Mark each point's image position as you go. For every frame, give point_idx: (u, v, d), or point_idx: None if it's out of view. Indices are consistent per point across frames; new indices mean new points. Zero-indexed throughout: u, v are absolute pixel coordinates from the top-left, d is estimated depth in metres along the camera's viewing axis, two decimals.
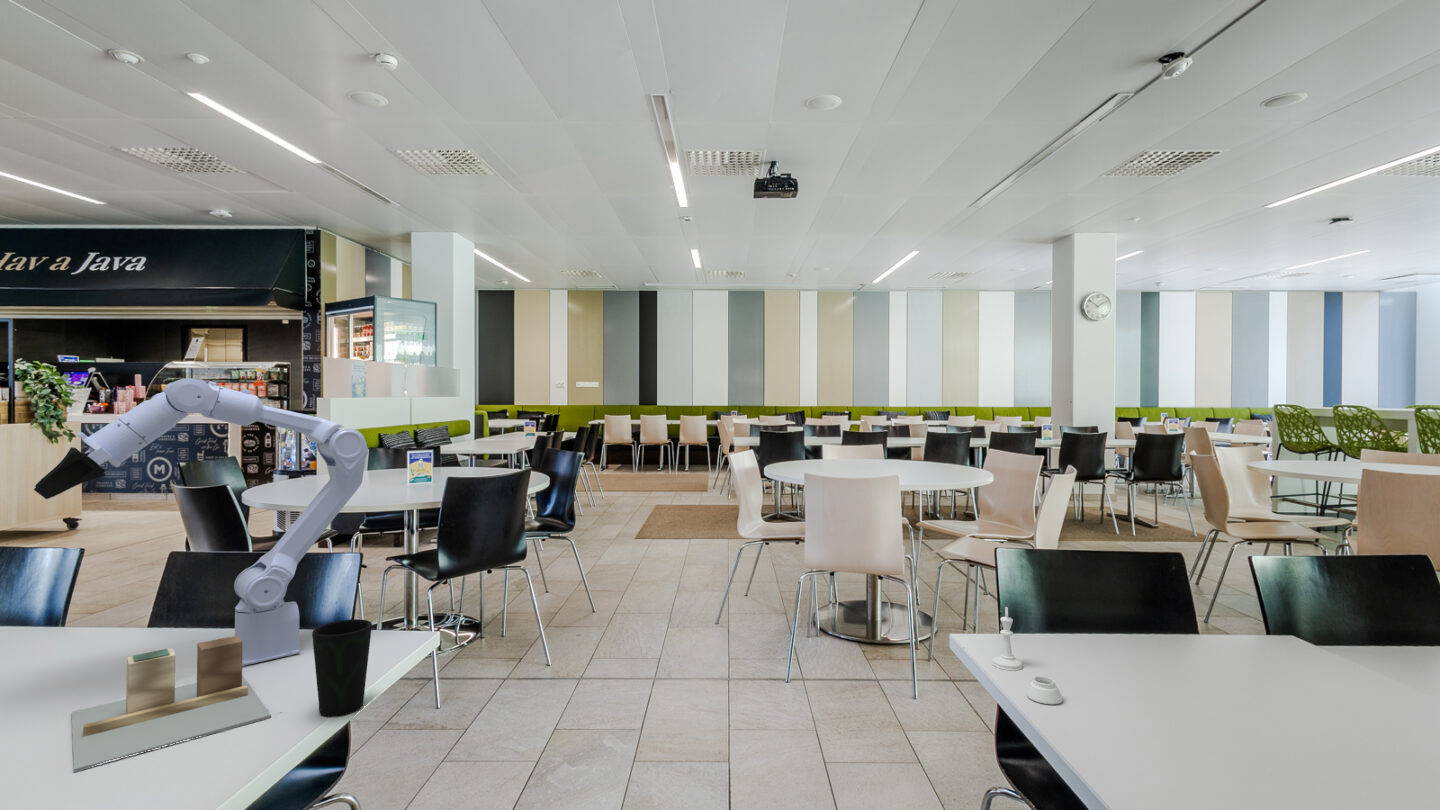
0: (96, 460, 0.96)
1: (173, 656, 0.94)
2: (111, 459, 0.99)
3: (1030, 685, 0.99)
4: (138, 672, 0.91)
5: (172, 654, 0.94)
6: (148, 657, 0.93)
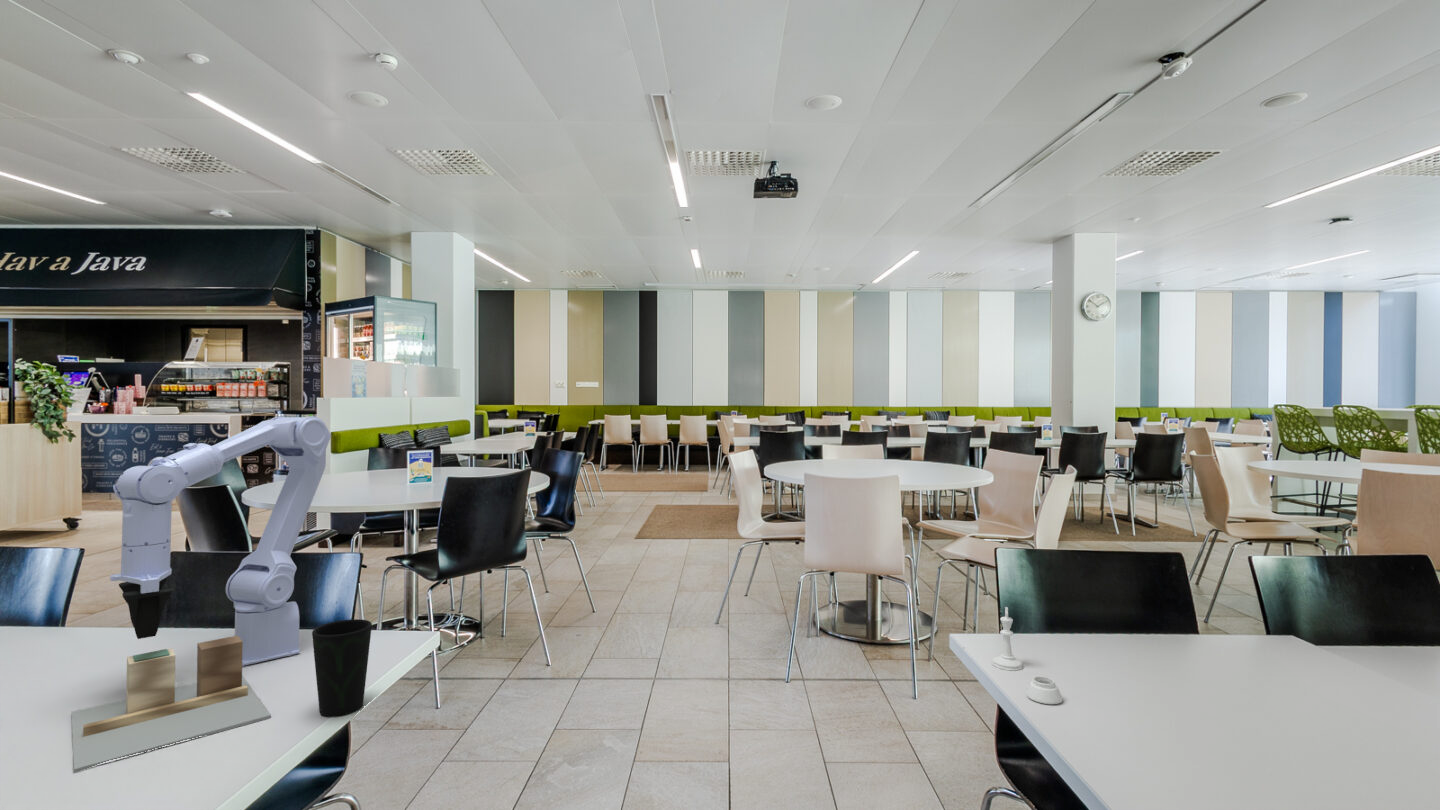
0: (151, 590, 0.95)
1: (173, 656, 0.94)
2: (160, 578, 0.97)
3: (1030, 685, 0.99)
4: (138, 672, 0.91)
5: (172, 654, 0.94)
6: (148, 657, 0.93)
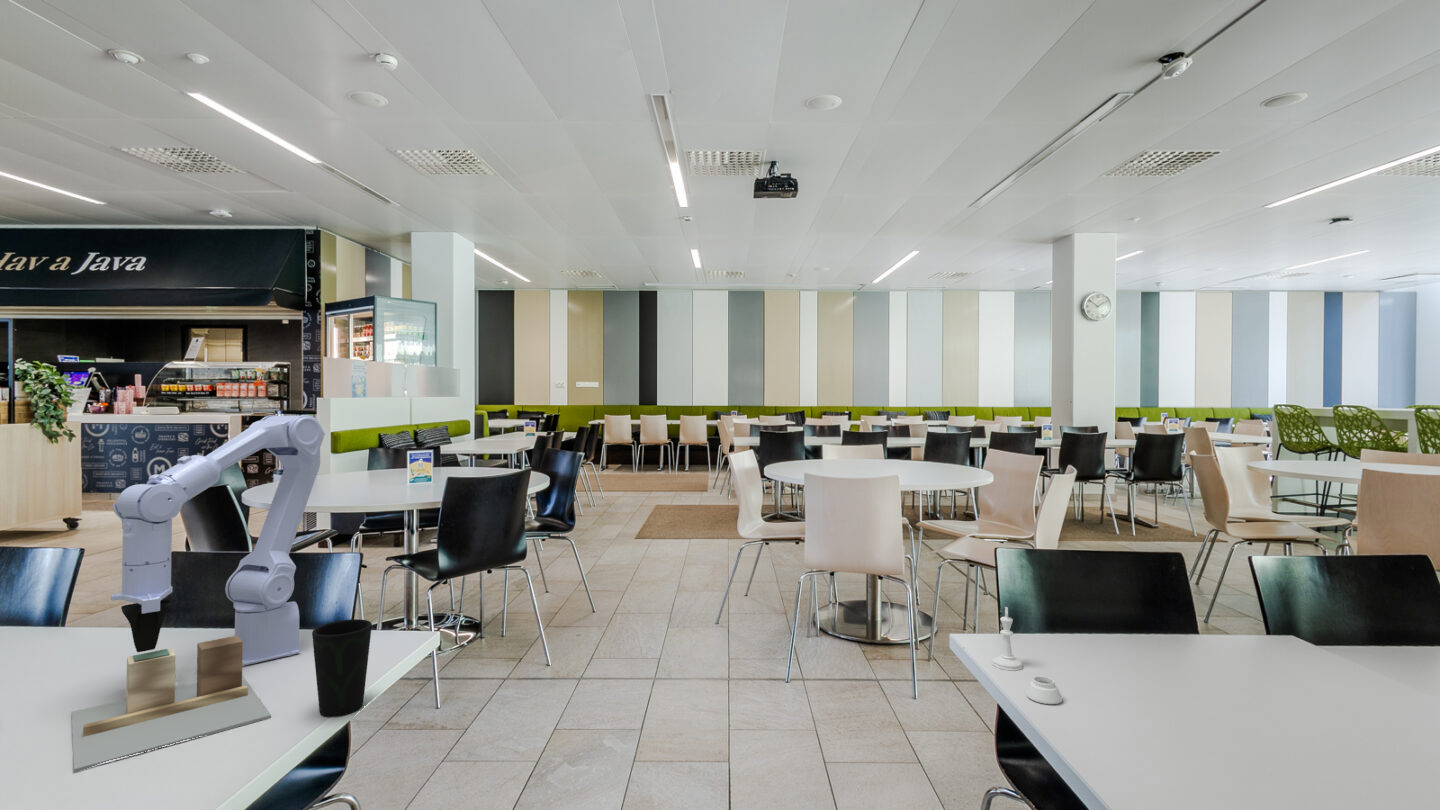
0: (152, 610, 0.95)
1: (173, 656, 0.94)
2: (161, 597, 0.97)
3: (1030, 685, 0.99)
4: (138, 672, 0.91)
5: (172, 654, 0.94)
6: (148, 657, 0.93)
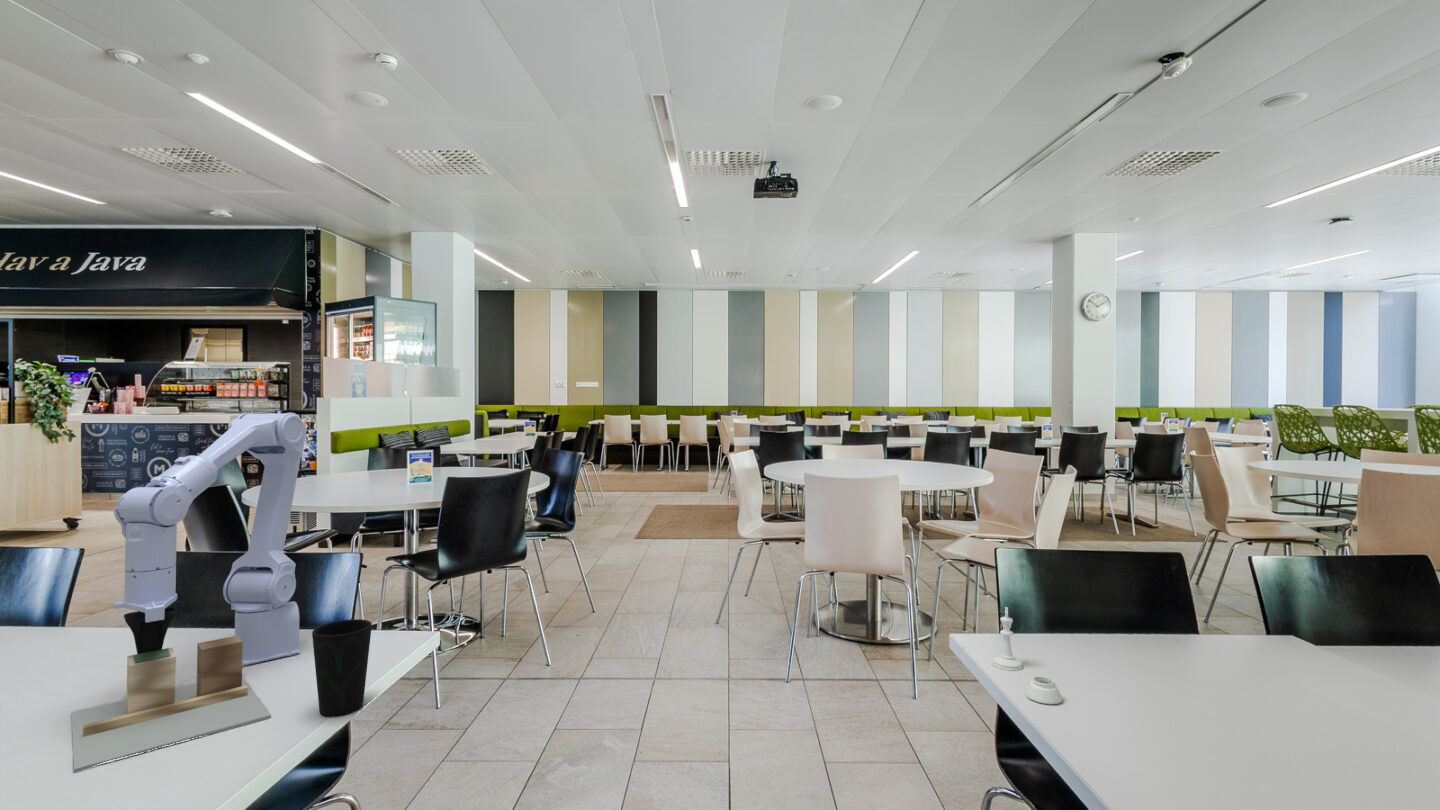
0: (157, 619, 0.91)
1: (174, 657, 0.94)
2: (166, 605, 0.93)
3: (1030, 685, 0.99)
4: (138, 673, 0.91)
5: (173, 655, 0.94)
6: (149, 658, 0.92)
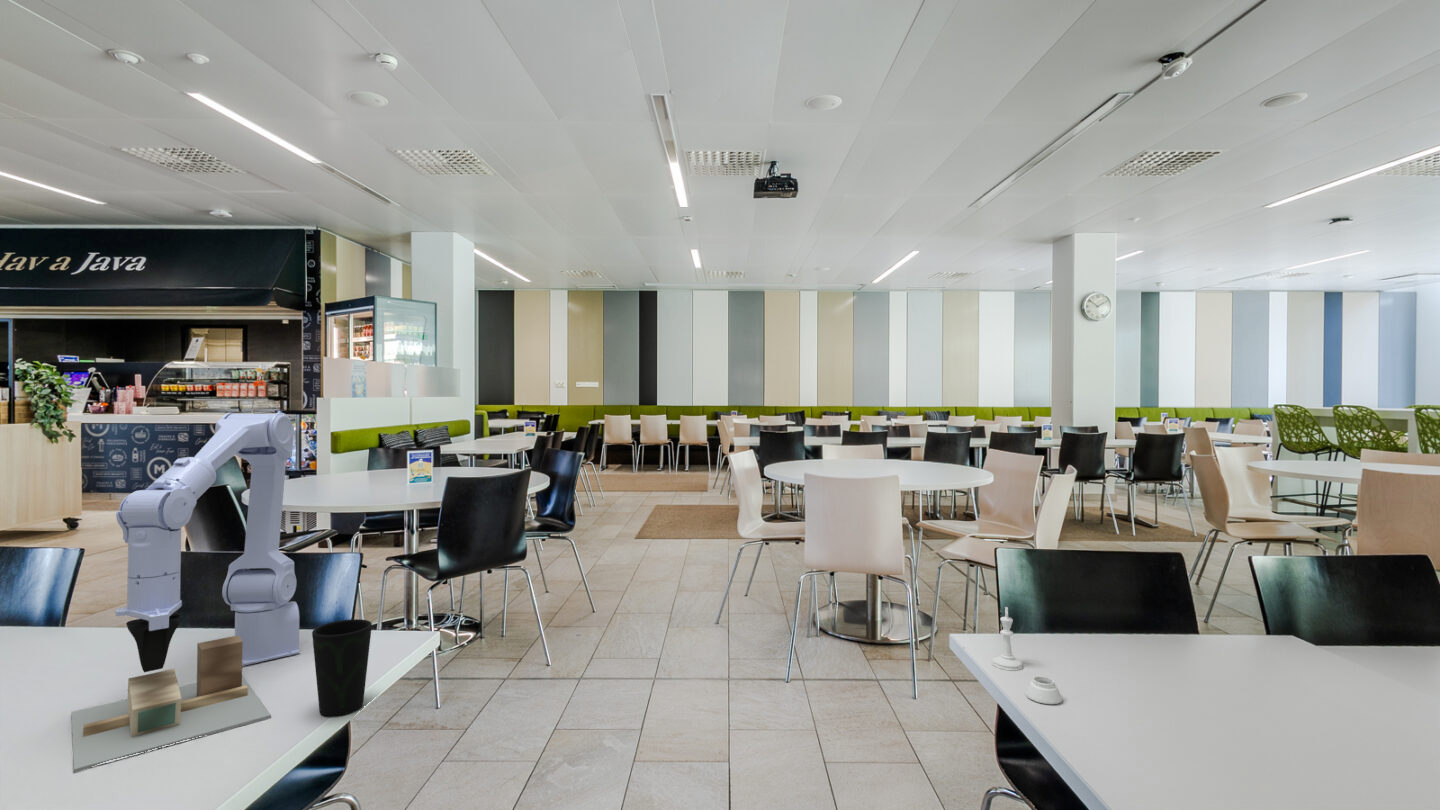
0: (161, 627, 0.87)
1: (177, 723, 0.90)
2: (170, 612, 0.89)
3: (1030, 685, 0.99)
4: None
5: (177, 720, 0.89)
6: (152, 726, 0.87)
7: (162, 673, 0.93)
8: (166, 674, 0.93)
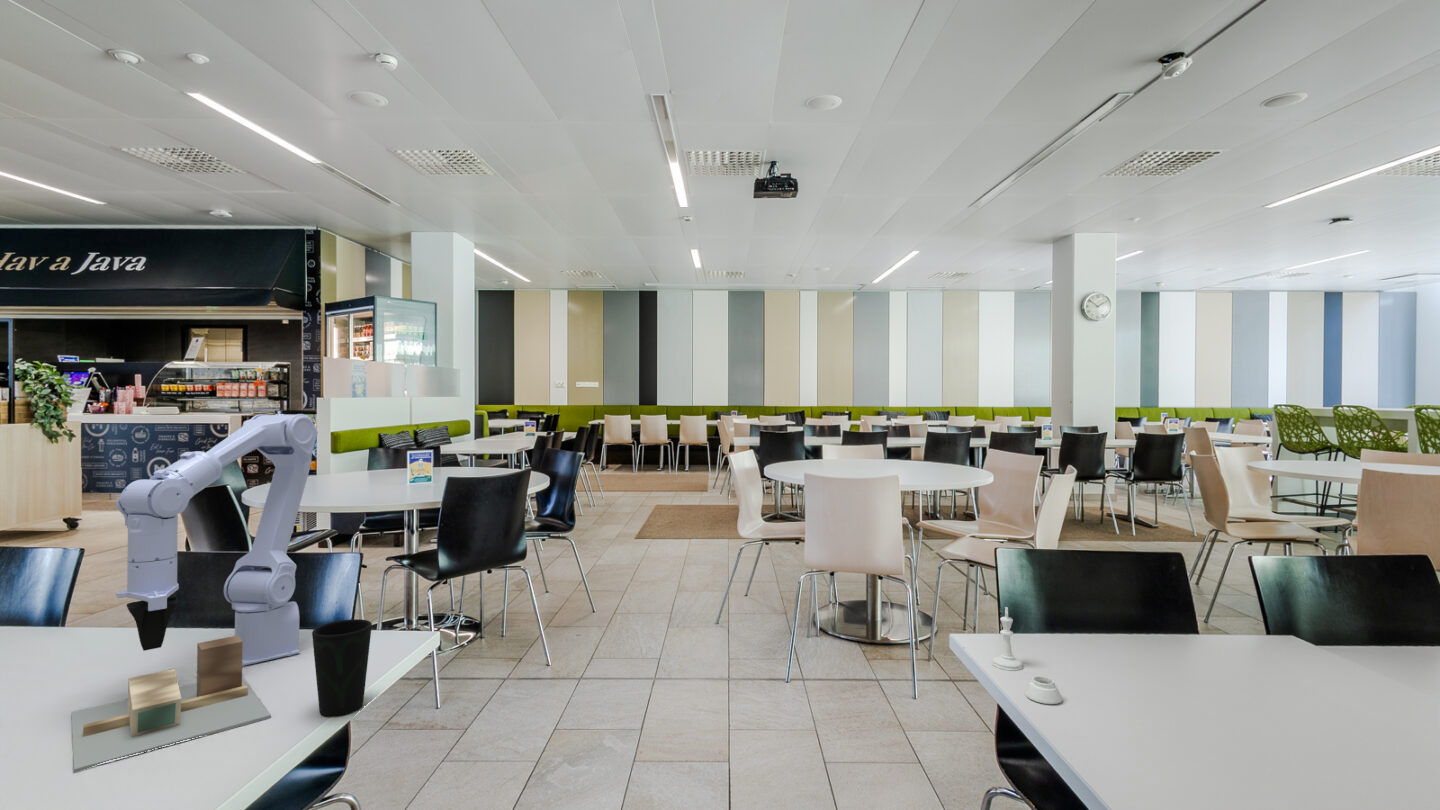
0: (159, 607, 0.93)
1: (177, 723, 0.90)
2: (168, 594, 0.95)
3: (1030, 685, 0.99)
4: None
5: (177, 720, 0.89)
6: (152, 726, 0.87)
7: (162, 673, 0.93)
8: (166, 674, 0.93)
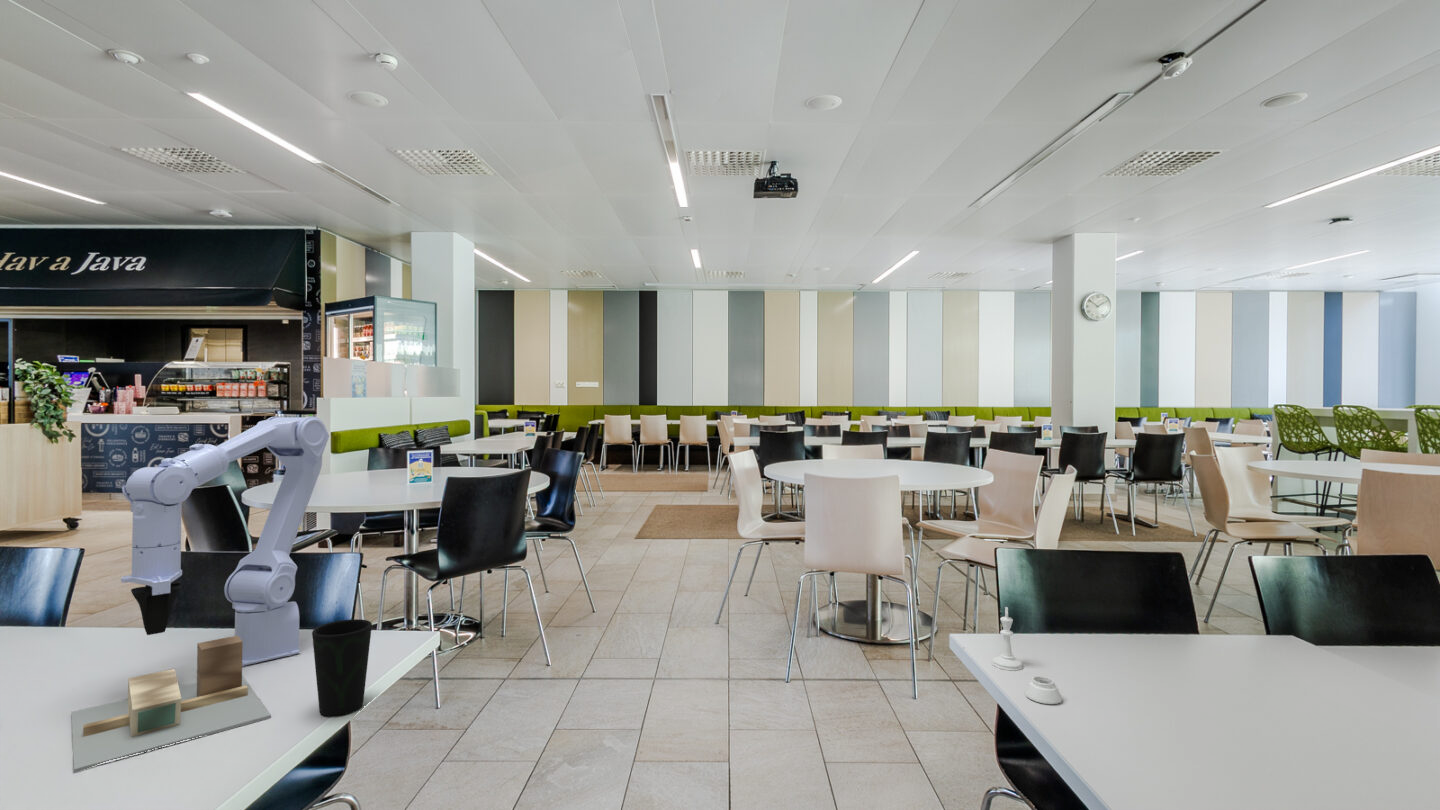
0: (163, 592, 0.95)
1: (177, 723, 0.90)
2: (171, 579, 0.97)
3: (1029, 685, 0.99)
4: None
5: (177, 720, 0.89)
6: (152, 726, 0.87)
7: (162, 673, 0.93)
8: (166, 674, 0.93)
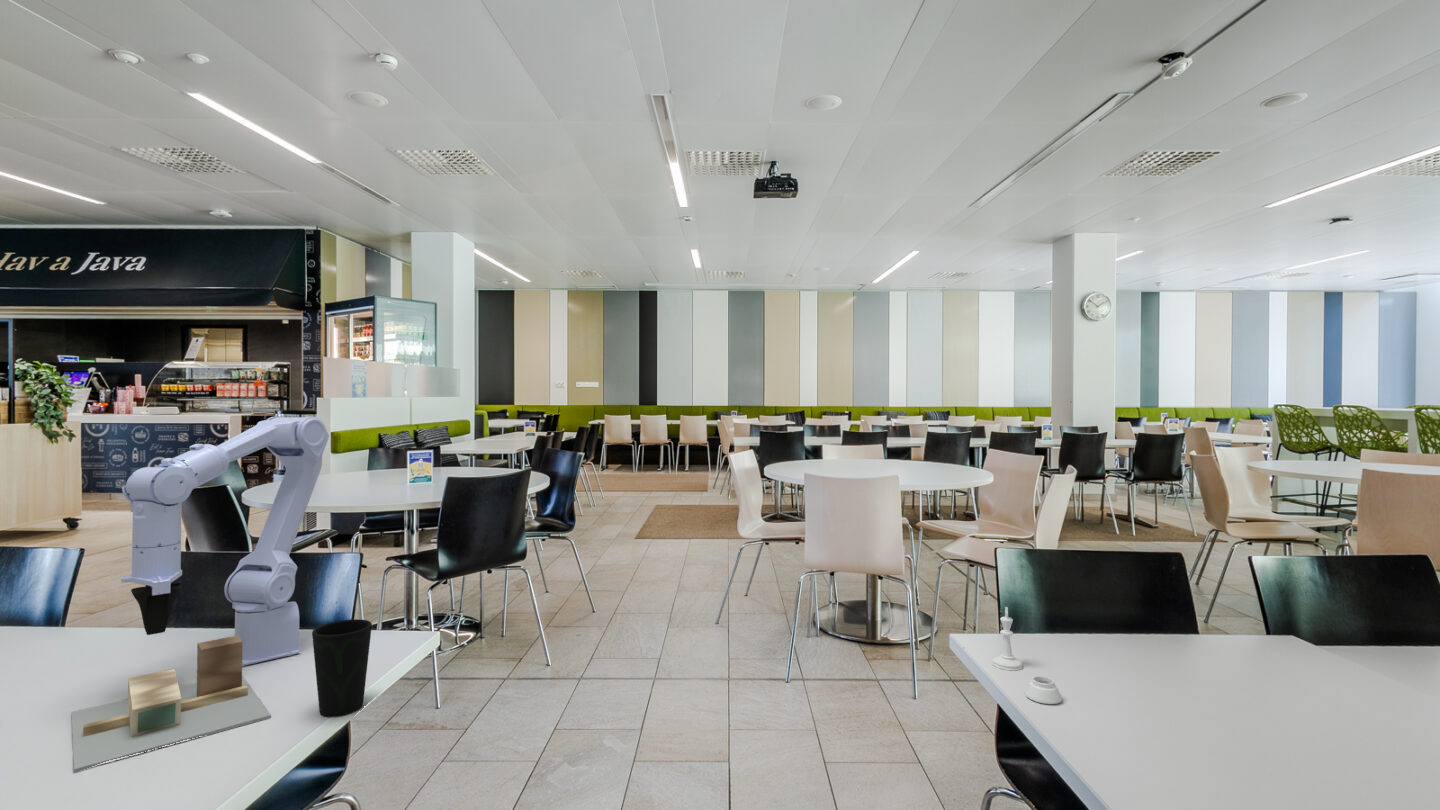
0: (163, 592, 0.95)
1: (177, 723, 0.90)
2: (171, 579, 0.97)
3: (1029, 685, 0.99)
4: None
5: (177, 720, 0.89)
6: (152, 726, 0.87)
7: (162, 673, 0.93)
8: (166, 674, 0.93)
